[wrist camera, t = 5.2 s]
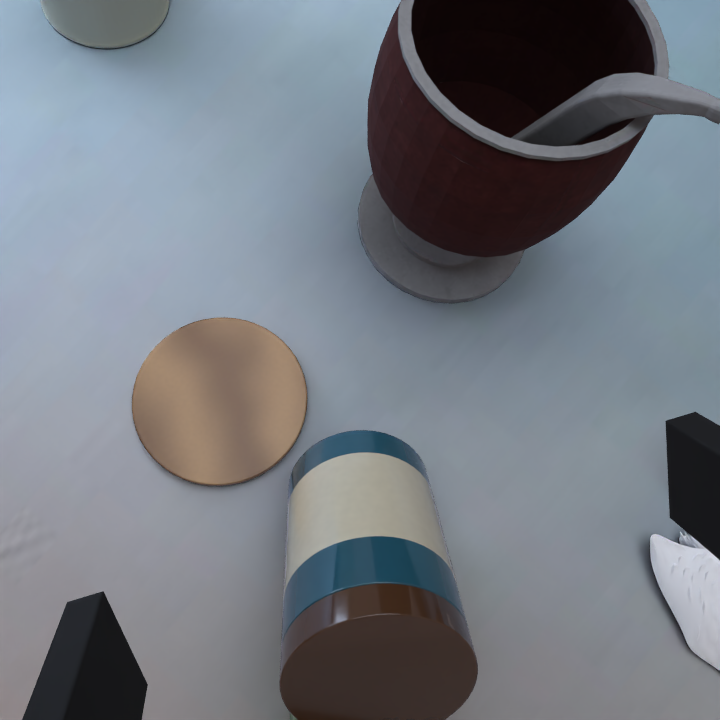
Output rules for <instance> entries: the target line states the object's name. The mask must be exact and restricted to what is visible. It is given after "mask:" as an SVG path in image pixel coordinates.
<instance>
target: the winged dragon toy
mask: <svg viewBox="0 0 720 720" xmlns="http://www.w3.org/2000/svg"><path fill="white" fill-rule="evenodd" d="M679 532H680V531H679ZM684 533H685V531H684ZM680 534H681V537H680V538H679V542H680V544H678V543H676V542H673V541H671V540H669V539H667V538H665V537H663V536H660V535H658V534H653V535H652V536H651V537H650V556H651V563H652V567H653V571H654V574H655V576H656V579H657V582H658V584H659V587H660V589H661V591H662V593H663V595H664V597H665V599H666V601H667V603H668V605H669V607H670V608H671V610H672V612H673V614H674V616H675V618H676V620H677V621H678V623H679V625H680V628H681V630H682V632H683V634H684V637H685V639H686V642H687V644H688V646H689V647H690V649H691V650H692V651H693V652H694V653H695V654H696V655H698V656H699V657H700V658H702V659H703V660H705V661H706V662H707V663H709V664H710V665H712V666H713V667H715V668H716V669H718V670H719V671H720V560H719V559H718V558H717V557H715V556H714V555H713V554H712V553H711V552H710V551H708V550H707V549H706V548H705V547H704V546H703V545H701V544H700V543H699V542H698V541H697V540H696V539H694V538H693V537H692V536H691V535H690V534H689V535H690V537H689V536H688V534H687V533H685V536H684V535H683V534H682V533H681V532H680ZM652 542H653V543H652ZM654 547H655V548H654Z"/></svg>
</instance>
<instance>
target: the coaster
mask: <svg viewBox="0 0 720 720" xmlns="http://www.w3.org/2000/svg"><path fill="white" fill-rule="evenodd" d="M306 410H307V387H306V382H305V377H304V374H303V372H302V369H301V366H300V364H299V362H298V360H297V358H296V357H295V355H294V354H293V353H292V351H291V350H290V348H289V347H288V346H287V345H286V344H285V343H284V342H283V341H282V340H281V339H280V338H279V337H277V336H276V335H275V334H273V333H272V332H270V331H269V330H267V329H266V328H263V327H261V326H259V325H257V324H255V323H252V322H249V321H245V320H241V319H236V318H211V319H204V320H200V321H197V322H193V323H190V324H188V325H186V326H183V327H181V328H179V329H178V330H176V331H174V332H172V333H171V334H170V335H168V336H167V337H166V338H164V339H163V340H162V341H161V342H160V343H159V344H158V345H157V346H156V347H155V348H154V349H153V350H152V351H151V352H150V354H149V355H148V356H147V358H146V359H145V361H144V363H143V364H142V366H141V368H140V371H139V373H138V375H137V378H136V381H135V385H134V389H133V396H132V413H133V420H134V424H135V428H136V431H137V433H138V436H139V438H140V440H141V442H142V444H143V445H144V447H145V449H146V450H147V451H148V453H149V454H150V455H151V456H152V457H153V459H154V460H155V461H156V462H158V463H159V464H160V465H161V466H162V467H163V468H165V469H166V470H168V471H169V472H171V473H172V474H174V475H176V476H178V477H180V478H182V479H184V480H187V481H190V482H193V483H196V484H201V485H206V486H227V485H234V484H239V483H243V482H246V481H249V480H252V479H254V478H256V477H258V476H260V475H262V474H264V473H265V472H267V471H268V470H270V469H271V468H273V467H274V466H275V465H276V464H277V463H279V462H280V461H281V460H282V459H283V458H284V457H285V456H286V454H287V453H288V452H289V451H290V449H291V448H292V446H293V445H294V444H295V442H296V440H297V438H298V436H299V434H300V432H301V429H302V426H303V424H304V420H305V415H306Z"/></svg>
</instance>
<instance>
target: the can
mask: <svg viewBox="0 0 720 720" xmlns="http://www.w3.org/2000/svg"><path fill="white" fill-rule="evenodd" d="M40 1H41V6H42V9H43V12H44V14H45V16H46V18H47V20H48V21H49V23H50V24H51V25H52V26H53V27H54V28H55V29H56V30H57V31H58V32H59V33H60V34H62V35H63V36H65V37H66V38H68V39H70V40H72V41H74V42H76V43H79V44H82V45H85V46H89V47H95V48H119V47H124V46H129V45H132V44H135V43H137V42H140V41H142V40H144V39H145V38H147V37H148V36H150V35H151V34H152V33H154V32H155V31H156V30H157V29H158V28H159V26H160V25H161V24H162V23H163V21H164V19H165V17H166V15H167V12H168V9H169V0H40Z"/></svg>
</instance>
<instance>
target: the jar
mask: <svg viewBox="0 0 720 720" xmlns="http://www.w3.org/2000/svg"><path fill="white" fill-rule="evenodd" d="M477 674H478V664H477V659H476V655H475V651H474V647H473V644H472V640H471V636H470V632H469V629H468V625H467V621H466V617H465V614H464V610H463V606H462V602H461V599H460V595H459V591H458V587H457V583H456V578H455V575H454V571H453V567H452V563H451V560H450V556H449V552H448V548H447V545H446V541H445V537H444V533H443V530H442V526H441V522H440V519H439V515H438V511H437V507H436V504H435V500H434V496H433V492H432V490H431V486H430V483H429V479H428V475H427V471H426V468H425V466H424V463H423V461H422V460H421V458H420V456H419V455H418V454H417V453H416V452H415V450H414V449H412V448H411V447H410V446H409V445H408V444H406V443H405V442H403V441H402V440H400V439H398V438H396V437H394V436H391V435H388V434H385V433H381V432H376V431H367V430H356V431H348V432H343V433H339V434H336V435H333V436H330V437H328V438H325V439H323V440H321V441H320V442H318V443H316V444H315V445H313V446H312V447H311V448H310V449H308V450H307V451H306V452H305V453H304V454H303V455H302V456H301V457H300V459H299V460H298V462H297V463H296V464H295V466H294V468H293V470H292V473H291V476H290V480H289V489H288V508H287V524H286V545H285V566H284V587H283V618H282V640H281V661H280V692H281V696H282V699H283V702H284V704H285V706H286V707H287V709H288V710H289V711H290V713H291V714H292V715H293V716H294V717H295V718H296V719H297V720H445V719H446V718H448V717H449V716H450V715H452V714H453V713H454V712H456V711H457V710H458V709H459V708H460V707H461V706H462V705H463V704H464V702H465V701H466V700H467V699H468V697H469V696H470V694H471V692H472V691H473V688H474V686H475V683H476V679H477Z"/></svg>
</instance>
